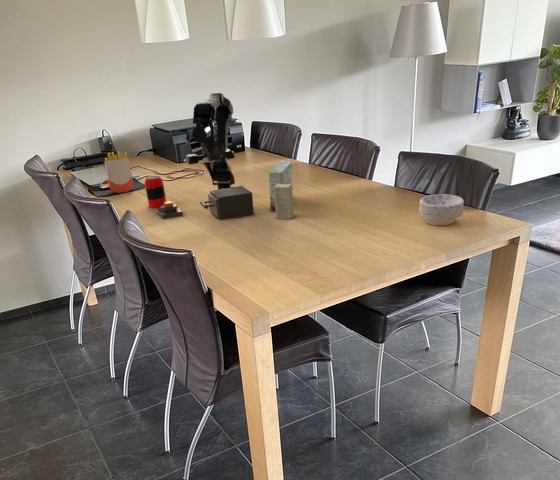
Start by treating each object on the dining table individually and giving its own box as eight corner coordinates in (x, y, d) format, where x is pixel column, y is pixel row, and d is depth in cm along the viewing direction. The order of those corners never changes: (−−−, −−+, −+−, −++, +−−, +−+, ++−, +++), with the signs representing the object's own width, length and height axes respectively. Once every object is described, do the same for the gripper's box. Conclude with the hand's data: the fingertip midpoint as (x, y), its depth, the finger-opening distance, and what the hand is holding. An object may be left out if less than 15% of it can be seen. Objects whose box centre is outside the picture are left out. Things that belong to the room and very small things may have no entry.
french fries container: (110, 192, 273) (101, 152, 263) (132, 188, 276) (125, 149, 267) (111, 194, 269) (103, 154, 260) (134, 190, 273) (127, 150, 263)
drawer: (207, 219, 222) (205, 201, 219) (199, 212, 232) (197, 195, 228) (247, 212, 227) (246, 195, 224) (238, 205, 236) (237, 189, 233)
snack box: (283, 211, 229) (281, 172, 221) (270, 211, 230) (267, 172, 222) (293, 196, 247) (292, 160, 239) (281, 196, 248) (279, 160, 240)
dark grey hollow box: (221, 219, 224) (218, 197, 219) (212, 212, 234) (209, 190, 230) (253, 214, 228) (252, 192, 223) (243, 206, 238) (242, 185, 233)
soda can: (170, 204, 248) (165, 175, 242) (160, 209, 242) (155, 180, 236) (155, 203, 251) (150, 174, 245) (145, 207, 245) (140, 179, 239)
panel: (158, 212, 238) (156, 204, 236) (176, 209, 240) (175, 201, 238) (163, 219, 230) (161, 210, 228) (182, 215, 232) (181, 207, 230)
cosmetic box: (294, 215, 223) (292, 183, 217) (290, 219, 220) (289, 186, 213) (279, 215, 225) (277, 183, 219) (275, 218, 222) (273, 186, 215)
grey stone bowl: (437, 231, 198) (439, 208, 194) (409, 220, 210) (411, 198, 205) (471, 222, 203) (473, 200, 199) (442, 212, 215) (444, 191, 211)
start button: (163, 206, 234) (162, 202, 233) (172, 204, 235) (171, 200, 234) (165, 208, 231) (164, 204, 230) (174, 207, 232) (173, 202, 231)
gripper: (189, 144, 215) (195, 186, 223) (236, 137, 220) (240, 179, 228) (182, 139, 224) (188, 180, 232) (228, 134, 229) (232, 174, 237)
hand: (212, 178), depth 232 cm, fingers closed
